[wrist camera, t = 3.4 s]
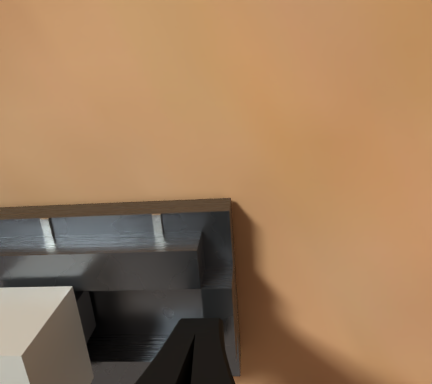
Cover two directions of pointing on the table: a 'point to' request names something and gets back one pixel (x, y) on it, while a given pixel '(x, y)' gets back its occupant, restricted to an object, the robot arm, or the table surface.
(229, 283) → the console
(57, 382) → the fader knob
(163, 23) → the table surface
